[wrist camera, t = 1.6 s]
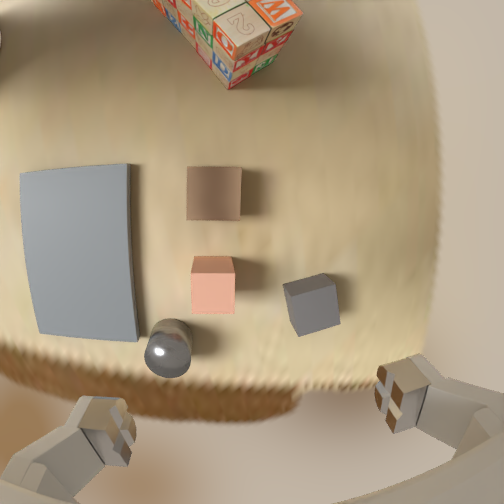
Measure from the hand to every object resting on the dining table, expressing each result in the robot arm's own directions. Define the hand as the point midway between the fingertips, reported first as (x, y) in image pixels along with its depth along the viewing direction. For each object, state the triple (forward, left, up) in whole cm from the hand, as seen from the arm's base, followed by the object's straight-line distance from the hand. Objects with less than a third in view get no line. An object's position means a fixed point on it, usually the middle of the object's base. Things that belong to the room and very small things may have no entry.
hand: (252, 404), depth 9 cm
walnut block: (-1, +5, -26) cm, 26 cm away
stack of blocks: (-4, +26, -26) cm, 37 cm away
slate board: (-17, -2, -25) cm, 31 cm away
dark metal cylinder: (-6, -12, -26) cm, 29 cm away
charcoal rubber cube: (+10, -7, -26) cm, 28 cm away
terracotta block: (-1, -4, -26) cm, 26 cm away
